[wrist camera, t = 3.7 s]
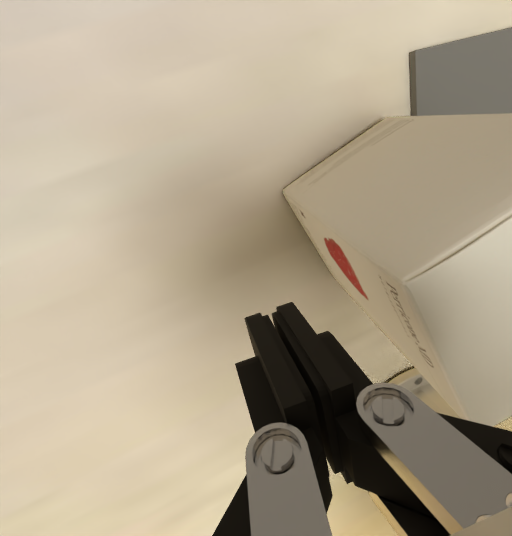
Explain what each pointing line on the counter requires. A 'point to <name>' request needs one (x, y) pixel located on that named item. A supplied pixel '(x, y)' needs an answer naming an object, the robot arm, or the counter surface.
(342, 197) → the supplement box
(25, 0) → the counter surface
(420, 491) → the robot arm
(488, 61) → the mat
